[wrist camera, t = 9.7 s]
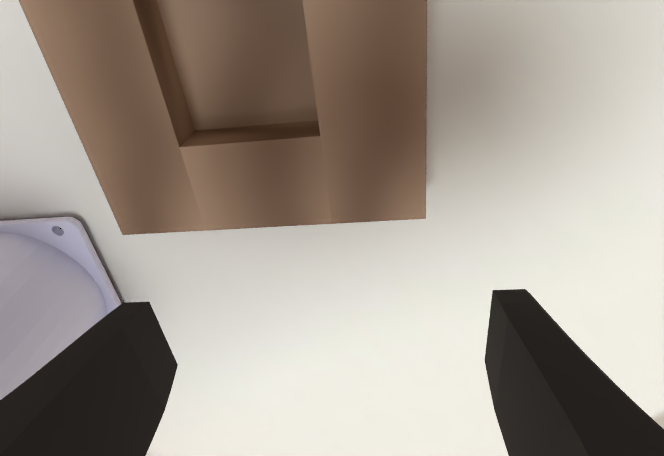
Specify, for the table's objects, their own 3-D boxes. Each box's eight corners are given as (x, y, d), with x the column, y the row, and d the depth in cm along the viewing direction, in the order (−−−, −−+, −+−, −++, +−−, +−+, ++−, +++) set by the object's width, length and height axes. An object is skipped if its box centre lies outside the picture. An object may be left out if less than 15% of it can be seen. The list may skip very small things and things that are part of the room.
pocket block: (143, 209, 19) (122, 234, 18) (4, -141, 13) (-50, -153, 11) (420, 192, 18) (425, 218, 16) (419, -212, 12) (428, -237, 10)
